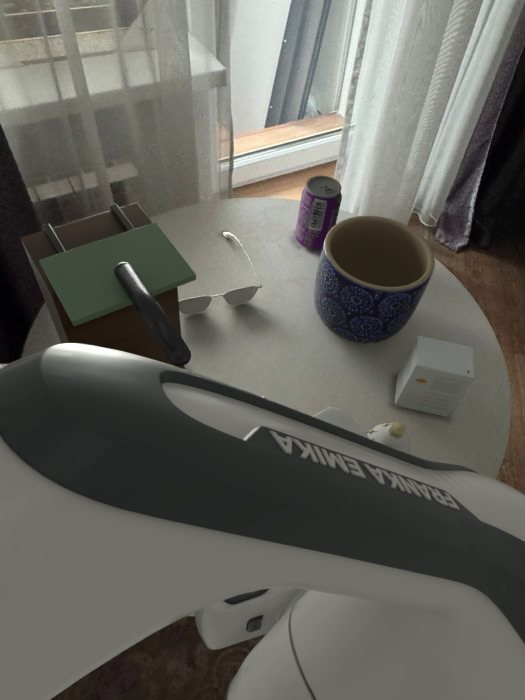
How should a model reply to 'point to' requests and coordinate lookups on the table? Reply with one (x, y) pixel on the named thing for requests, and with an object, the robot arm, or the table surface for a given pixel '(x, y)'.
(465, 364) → the small box
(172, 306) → the cabinet
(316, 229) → the beverage can
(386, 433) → the ornament
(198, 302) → the eyeglasses
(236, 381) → the table surface
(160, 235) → the door
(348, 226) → the planter
